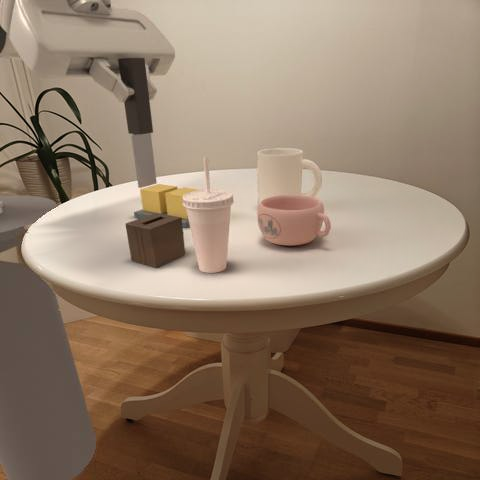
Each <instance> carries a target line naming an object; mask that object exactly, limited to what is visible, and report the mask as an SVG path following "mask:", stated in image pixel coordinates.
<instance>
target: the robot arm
mask: <svg viewBox="0 0 480 480" xmlns="http://www.w3.org/2000/svg"><path fill="white" fill-rule="evenodd" d="M0 58H3V59H9V60H18V61H23V63H24V64H25V66H26V67H27V68H28V69H29V70H30V71H31V72H32V73H34V74H36V75H37V76H39V77H41V78H44V79H55V78H57V79H58V78H59V79H60V78H62V79H63V78H92V79H93V81H94V82H95V83H96V84H98V85H99V86H101V87H103V88H104V89H106V90H107V91H109V92H110V93H112V94H113V96H114V97H115V98H116V100H117V101H118V102H119V103H124V102H130V101H131V100H132V97H133V96H134V93H135V91H134V89H133V87H132V86H130V83H129V82H128V80H127V79H121V77H120V70H119V63H118V59H119V58H145V66H146V75H147V83H148V92H149V101H153V100H154V99H155V97H156V95H157V93H158V90H157V87H156V85H155V84H154V83H153V81H152V80H151V76H152V77H153V76H154V77H157V76H159V77H160V76H165V75H167V74H168V72H169V70H170V68H171V67H172V64H173V62H174V60H175V59H176V51H175V48H174V46H173V45H172V43H171V42H170V41H169V40H168V39H167V37H166V36H165V35H164V34H163V33H162V31H161V30H160V29H159V28H158V27H157V26H156V25H155V24H154V22H152V20H150V19H149V18H148V16H146V15H145V14H143V13H142V12H140V11H137V10H134V9H128V8H118V7H114V6H112V2H111V0H0ZM3 206H4V204H3V202H2V201H0V214H1V213H2V212H3V209H2V207H3Z"/></svg>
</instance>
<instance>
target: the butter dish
mask: <svg viewBox="0 0 480 480" xmlns="http://www.w3.org/2000/svg"><path fill="white" fill-rule="evenodd" d="M151 214H154V213H153V212H147V211H143V208H142V209H139V210H136V211H133V216H134V218H136V219H140V218H143V217H146V216H149V215H151ZM163 214H166V215H168V214H167V212H166V213H163ZM182 225H183V229H184V228H185V229H187V228H190V224H189V220H188V219H183V218H182Z"/></svg>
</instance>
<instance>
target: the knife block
mask: <svg viewBox="0 0 480 480" xmlns="http://www.w3.org/2000/svg"><path fill="white" fill-rule="evenodd" d="M124 224H125V229H126V237H127V241H128V242H127V243H128V248H129V253H130V259H131V262H133V263H136V264H137V263H138V264H142V265H145V266H148V267H150V268H151V267H152V268H154V269H158V268H160V267H161V266H164V265H166V264H167V263H170V262H172V261H174V260H176V259H179V258H181V257H183V256H185V255H186V248H185V247H186V246H185V238H184V237H185V236H184V227H183V225H182V218H181V217H176V216H171V215H166V214H160V213H154V214H151V215H149V216H146V217H143V218H136V219H134V220H131V221H128V222H126V223H124Z"/></svg>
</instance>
